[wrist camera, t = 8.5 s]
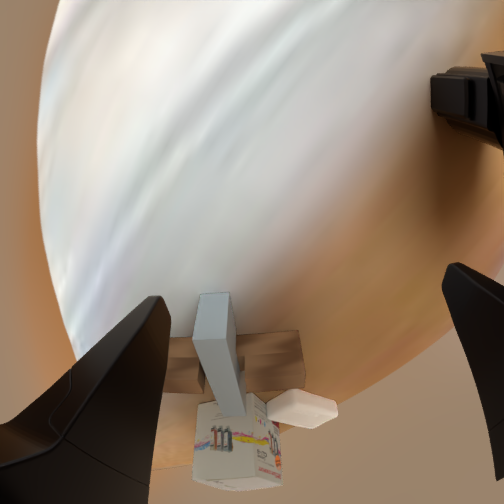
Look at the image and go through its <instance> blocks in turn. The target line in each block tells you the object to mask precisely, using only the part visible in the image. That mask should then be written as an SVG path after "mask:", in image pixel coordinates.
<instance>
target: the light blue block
mask: <svg viewBox="0 0 504 504" xmlns="http://www.w3.org/2000/svg"><path fill="white" fill-rule="evenodd" d="M192 341H193V344H194V346H195V349H196V352H197V354H198V357H199V359H200V362H201V364H202V367H203V370H204V372H205V374H206V377H207V379H208V382H209V384H210V387H211V389H212V391H213V394H214V396H215V398H216V401H217V403H218V405H219V408H220V410H221V412H222V414H223V417H229V416H246V382H245V371H240V367H239V363H238V359H237V354H236V325H235V320H234V315H233V310H232V304H231V299H230V294H229V292H225V293H210V294H201V295H200V300H199V305H198V310H197V316H196V321H195V326H194V332H193V338H192Z"/></svg>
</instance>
